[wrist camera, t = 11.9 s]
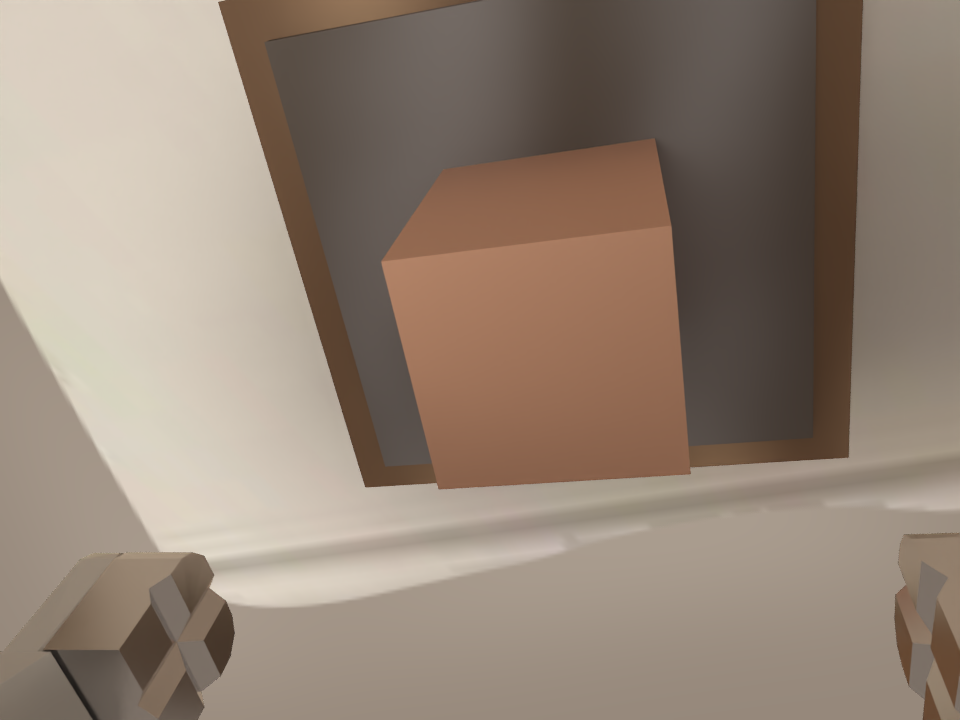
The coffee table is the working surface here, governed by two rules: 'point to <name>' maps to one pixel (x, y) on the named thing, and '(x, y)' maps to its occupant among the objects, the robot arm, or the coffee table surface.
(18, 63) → the coffee table surface
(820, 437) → the walnut plinth
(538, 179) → the terracotta block
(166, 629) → the robot arm
